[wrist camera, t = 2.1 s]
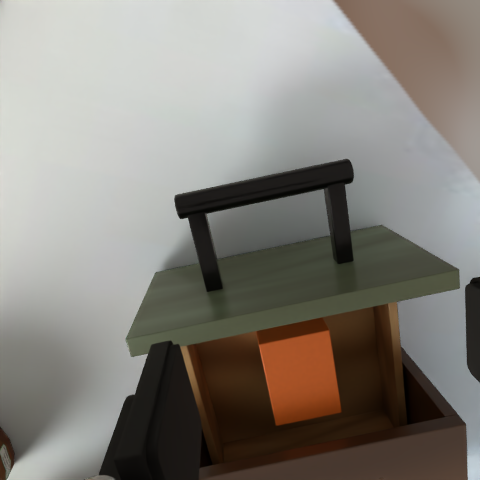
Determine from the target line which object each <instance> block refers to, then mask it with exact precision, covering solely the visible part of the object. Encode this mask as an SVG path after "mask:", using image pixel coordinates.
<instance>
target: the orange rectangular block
mask: <svg viewBox="0 0 480 480" xmlns="http://www.w3.org/2000/svg"><path fill="white" fill-rule="evenodd" d="M256 333H257V339H258V344H259V349H260V353H261V358H262V363H263V367H264V372H265V377H266V381H267V386H268V391H269V395H270V400H271V404H272V409H273V414H274V418H275V423H276V425H277V426H279V425H284V424H289V423H294V422H299V421H303V420H308V419H313V418H318V417H323V416H327V415H332V414H337V413H341V412H342V410H341V403H340V396H339V390H338V383H337V376H336V370H335V363H334V356H333V349H332V343H331V336H330V330H329V328H328V326H327V325H326V323H325V321H324V319H323V317H321V318H316V319H311V320H307V321H302V322H297V323H292V324H288V325H283V326H278V327H273V328H268V329H264V330H259V331H256Z"/></svg>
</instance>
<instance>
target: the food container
mask: <svg viewBox="0 0 480 480" xmlns="http://www.w3.org/2000/svg"><path fill="white" fill-rule="evenodd" d="M14 454H15V453H14V450H13V448H12V445H11V442H10V439H9V438H8V436H7V435H6V434H5V433H4V431H3V430H2V429H1V428H0V480H7V478H8V476H9V474H10V472H11V470H12V468H13V465H14Z"/></svg>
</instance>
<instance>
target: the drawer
mask: <svg viewBox="0 0 480 480" xmlns="http://www.w3.org/2000/svg"><path fill="white" fill-rule="evenodd" d="M353 178H354V172H353V167H352V164H351V162H350V160H349V159H343V160H338V161H334V162H329V163H324V164H320V165H315V166H310V167H305V168H301V169H296V170H291V171H286V172H282V173H277V174H272V175H268V176H263V177H258V178H253V179H249V180H244V181H239V182H234V183H230V184H225V185H220V186H216V187H211V188H206V189H201V190H197V191H192V192H187V193H182V194H178V195H175V198H174V200H175V207H176V211H177V214H178V216H179V218H180V219H184V218H188V220H189V224H190V228H191V232H192V236H193V240H194V244H195V248H196V252H197V256H198V260H199V263H198V264H193V265H189V266H184V267H179V268H174V269H169V270H165V271H160V272H156V273H155V275H154V277H153V279H152V281H151V284H150V286H149V288H148V290H147V293H146V295H145V297H144V299H143V301H142V304H141V306H140V308H139V310H138V313H137V315H136V317H135V319H134V321H133V324H132V326H131V328H130V330H129V333H128V335H127V337H126V342H127V345H128V348H129V351H130V354H131V357H134V356H139V355H144V354H148V353H149V350H150V347H151V345H152V344H155V343H160V342H164V341H169V340H171V341H172V343H173V345H175V344H179V345H180V348H181V351H182V355H183V358H184V362H185V365H186V369H187V372H188V376H189V379H190V383H191V386H192V390H193V393H194V397H195V400H196V404H197V407H198V411H199V414H200V418H201V425H202V430H203V434H204V437H205V441H206V444H207V447H208V451H209V454H210V458H211V461H212V465H216V464H221V463H226V462H230V461H235V460H240V459H245V458H250V457H255V456H259V455H264V454H269V453H274V452H279V451H284V450H288V449H293V448H298V447H303V446H308V445H313V444H317V443H322V442H327V441H332V440H337V439H342V438H346V437H351V436H356V435H361V434H366V433H371V432H375V431H380V430H385V429H390V428H395V427H400V426H405V425H407V415H406V403H405V392H404V380H403V368H402V357H401V345H400V333H399V321H398V310H397V302H398V301H402V300H407V299H412V298H417V297H422V296H426V295H431V294H436V293H441V292H445V291H450V290H455V289H459V288H460V282H459V269H457V268H456V267H454V266H452V265H450V264H449V263H447V262H445V261H444V260H442V259H440V258H438V257H437V256H435V255H433V254H431V253H430V252H428V251H426V250H425V249H423V248H421V247H419V246H418V245H416V244H414V243H413V242H411V241H409V240H407V239H406V238H404V237H402V236H400V235H399V234H397V233H395V232H394V231H392V230H390V229H388V228H387V227H385V226H383V225H379V226H374V227H369V228H364V229H360V230H355V231H350V224H349V216H348V207H347V199H346V191H345V184H350V183H352V182H353ZM321 189H324V194H325V201H326V209H327V216H328V223H329V231H330V236H326V237H322V238H317V239H312V240H307V241H303V242H298V243H293V244H288V245H284V246H279V247H274V248H269V249H265V250H260V251H255V252H250V253H246V254H241V255H236V256H231V257H227V258H222V259H217V256H216V251H215V247H214V243H213V239H212V234H211V230H210V226H209V222H208V217H207V214H208V213H213V212H217V211H222V210H227V209H231V208H236V207H241V206H246V205H250V204H255V203H260V202H265V201H269V200H274V199H279V198H284V197H288V196H293V195H298V194H303V193H307V192H312V191H317V190H321ZM321 317H323V319H324V321H325V323H326V325H327V326H328V328H329V330H330V336H331V343H332V349H333V356H334V363H335V370H336V376H337V383H338V390H339V396H340V403H341V410H342V412H341V413H337V414H332V415H327V416H323V417H318V418H313V419H308V420H303V421H299V422H294V423H289V424H284V425H279V426H277V425H276V423H275V418H274V414H273V409H272V404H271V400H270V395H269V391H268V386H267V381H266V377H265V372H264V367H263V363H262V358H261V353H260V349H259V344H258V339H257V333H256V331H259V330H264V329H268V328H273V327H278V326H283V325H288V324H292V323H297V322H302V321H307V320H311V319H316V318H321Z"/></svg>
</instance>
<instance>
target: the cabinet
mask: <svg viewBox="0 0 480 480" xmlns="http://www.w3.org/2000/svg"><path fill="white" fill-rule="evenodd" d="M401 357H402V368H403V380H404V392H405V403H406V415H407V425H405V426H400V427H395V428H390V429H385V430H380V431H375V432H371V433H366V434H361V435H356V436H351V437H346V438H342V439H337V440H332V441H327V442H322V443H317V444H313V445H308V446H303V447H298V448H293V449H288V450H284V451H279V452H274V453H269V454H264V455H259V456H255V457H250V458H245V459H240V460H235V461H230V462H226V463H221V464H216V465H212V461H211V458H210V454H209V451H208V447H207V444H206V441H205V437H204V434H203V430H202V436H201V452H200V468H199V480H468V475H467V438H466V423H465V422H464V421H463V420H462V419H461V418H460V416H459V415H458V414H457V412H456V411H455V410H454V409H453V408H452V407H451V405H450V404H449V403H448V402H447V401H446V399H445V398H444V397H443V396H442V395H441V393H440V392H439V391H438V390H437V389H436V387H435V386H434V385H433V384H432V383H431V382H430V380H429V379H428V378H427V377H426V376H425V374H424V373H423V372H422V371H421V370H420V368H419V367H418V366H417V365H416V364H415V363H414V361H413V360H412V359H411V358H410V357H409V355H408V354H407V353H406V352H405V351H404V349H403V348H402V347H401Z"/></svg>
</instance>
